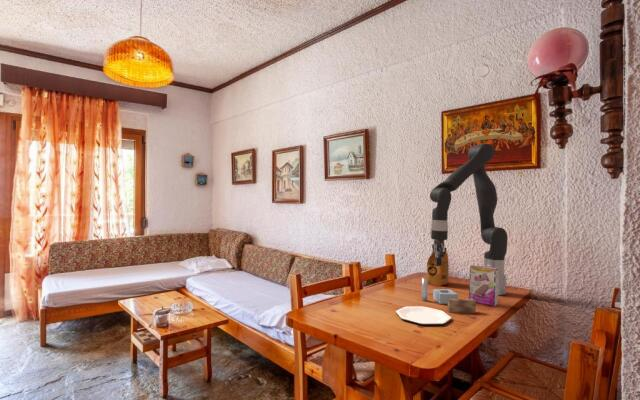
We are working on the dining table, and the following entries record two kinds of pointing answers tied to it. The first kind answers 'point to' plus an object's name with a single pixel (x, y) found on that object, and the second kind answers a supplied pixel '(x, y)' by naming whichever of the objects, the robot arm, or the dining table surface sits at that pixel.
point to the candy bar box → (484, 285)
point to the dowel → (424, 289)
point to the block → (444, 295)
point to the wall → (462, 305)
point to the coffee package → (437, 270)
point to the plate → (423, 315)
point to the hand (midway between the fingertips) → (438, 265)
